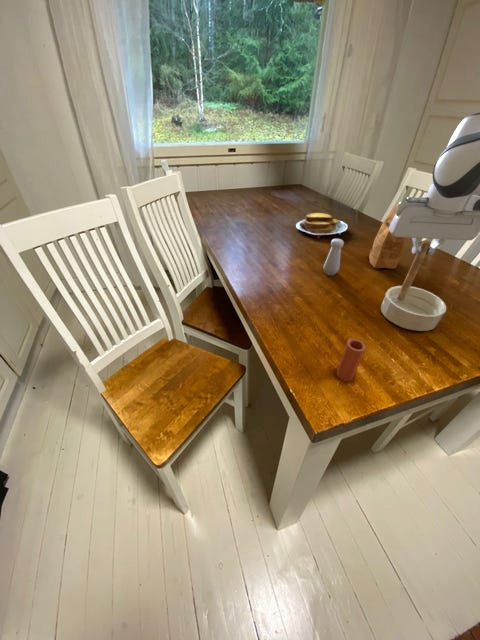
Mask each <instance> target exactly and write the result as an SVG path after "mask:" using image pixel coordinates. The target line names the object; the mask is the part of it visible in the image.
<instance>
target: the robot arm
mask: <svg viewBox="0 0 480 640" xmlns="http://www.w3.org/2000/svg"><path fill="white" fill-rule="evenodd" d="M432 169H433V170H432V180H431V183H430V185H429V187H428V191H427V193H426V195H425V197H422V196H421V197H413V196H408V197H406V198H404V199H403V200H401V201H399V203H398V204H399V205H398V207H397V210H396V214H395V216H394V218H393V220H392V222H391V224H390V227H389V231H390V233H391V234H392V235H393V236H394V237H406V238H408V239H409V238H410V239H411V241H412V245H413V246H412V248H411V253H412V254H413V255H416V254H420V251H421V250H422V248H421V247H420V246H421V245H419V244H420V243H422V241H423V239H429V240H430V239H432V240H435V241H434V242H433V243H431V245H430V247H429V249H428V251H427V253H426V255H427V256H428V255H429V256H432V255H434V253H435V252H436V250H437V249H439V248H440V247H441V246H442V245H443V244H444V243H445V242H446V240H452V241H453V240H454V241H472V240H474V239H475V238H477V237H478V236H479V234H480V112H475V113H472V114H470V115H467V116H465V117H463V118H462V120H461V121H460V123H458V125H457V127H456V129H455V130H454V132H453V134H452V135H451V136H450V139H449V141H448V143H447V145H446V147H445V149H444V150H443V151H442V152H441V154H440V155H439V156H438V158H437V159H436V161H435V163H434V166H433V168H432Z"/></svg>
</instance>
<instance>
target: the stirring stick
mask: <svg viewBox="0 0 480 640" xmlns="http://www.w3.org/2000/svg"><path fill="white" fill-rule="evenodd" d="M420 243H421V244H420V245H419V246H420V247H421V248H422V250H421V251H420V254H415V256H414V258H413V261H412V263H411V266H410V268H409V270H408V272H407V275H406V276H405V279H404V281H403V283H402V285H401V286H402V288H401V290H400V292H399V294H398V296H397V300H399V301H404V299H405V297H406V295H407V293H408V291H409V289H410V286H411V287H412V285H413V282H414V280H415V278H416V276H417V273H418V272H419V270H420V268H421V265H422V264H423V261H424V260H425V257H426V255H427V254H426V253H427V251H428V249H429V247H430V246H431V245H432V241H430V240H425V239H424V240H421V242H420Z"/></svg>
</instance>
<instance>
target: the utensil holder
mask: <svg viewBox="0 0 480 640" xmlns="http://www.w3.org/2000/svg"><path fill="white" fill-rule="evenodd" d="M366 349H367V346H366V343H364V342H363V341H362V340H360V339H357V338H351V339H348V340H347V342H346V344H345V347H344V349H343V352H342V354H341V355H342V356H341V359H340V362H339V363H338V367H337V370H336V376H337V378H338V379H340V380H341V381H343V382H351V381H353V379H354V378H355V375H356V373H357V371H358V368H359V365H360V364H361V361H362V358H363V356H364V354H365V351H366Z"/></svg>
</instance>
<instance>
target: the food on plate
mask: <svg viewBox="0 0 480 640" xmlns="http://www.w3.org/2000/svg"><path fill="white" fill-rule="evenodd" d="M348 226H349V225H348V224H347V223H345V222H344V221H342V220H339V219H336V218H333V216H332V215H331V214H328V213H324V212H311V213H308V214H306V215H305V219H302V220H300V221H298V222H296V224H295V228H296V229H297V230H300V231H301V232H305V233H307V234H309V235H313V236H317V239H320V237H321V236H330V235H336V234H339V236H341V233H344V232H346V231H348V229H349V227H348ZM301 235H303V233H301Z"/></svg>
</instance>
